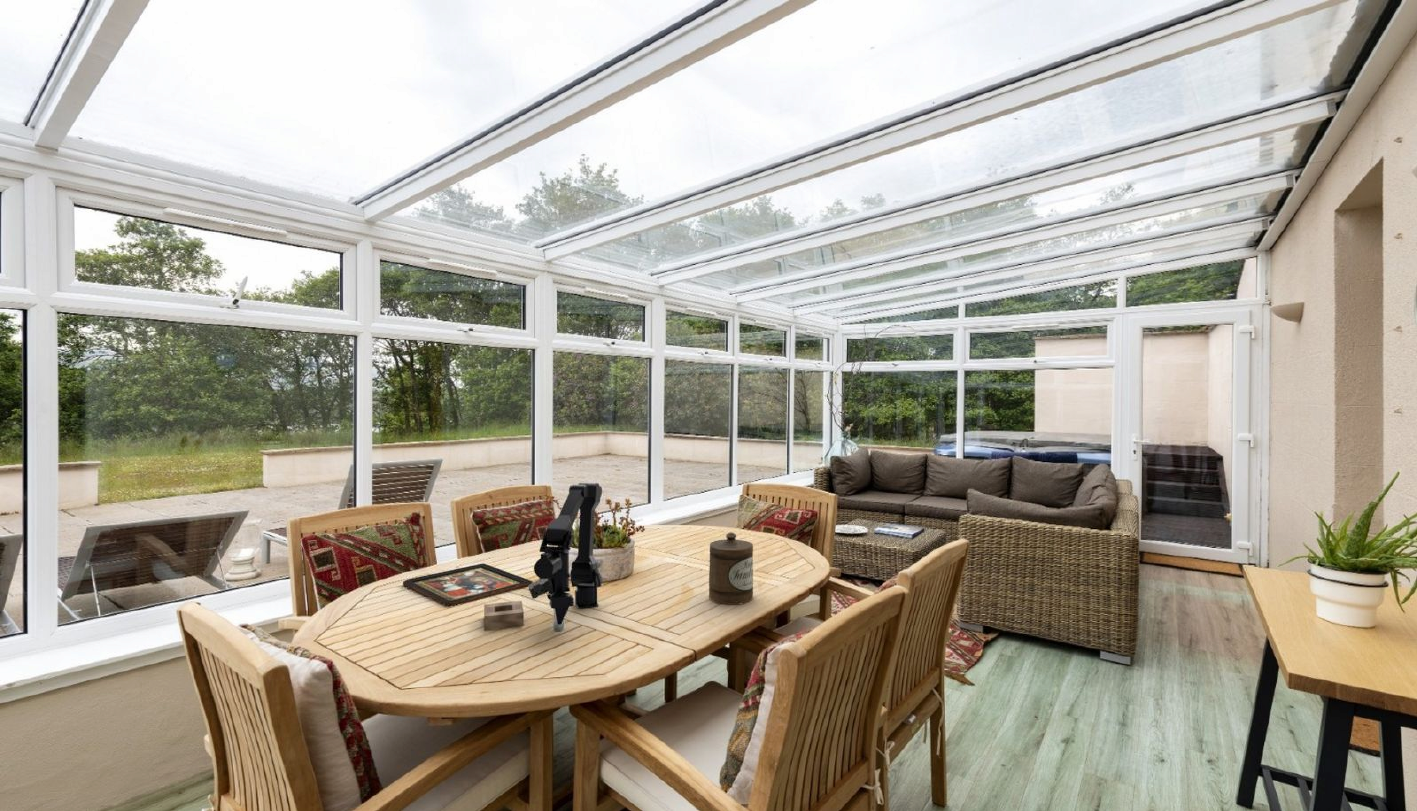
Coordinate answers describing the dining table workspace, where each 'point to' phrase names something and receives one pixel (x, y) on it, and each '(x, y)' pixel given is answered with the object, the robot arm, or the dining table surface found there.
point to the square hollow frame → (503, 615)
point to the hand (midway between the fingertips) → (558, 622)
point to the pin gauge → (556, 626)
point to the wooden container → (731, 571)
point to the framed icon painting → (466, 584)
